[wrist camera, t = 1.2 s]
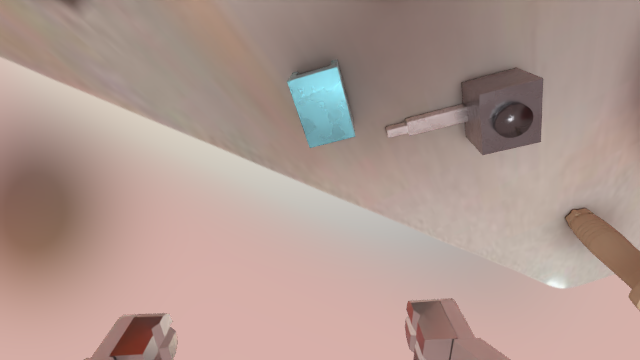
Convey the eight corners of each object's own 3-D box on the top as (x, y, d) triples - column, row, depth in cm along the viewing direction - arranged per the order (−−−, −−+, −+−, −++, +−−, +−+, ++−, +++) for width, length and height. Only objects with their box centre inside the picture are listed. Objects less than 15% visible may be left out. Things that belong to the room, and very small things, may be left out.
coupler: (391, 154, 42) (398, 177, 37) (380, 104, 39) (387, 121, 34) (516, 124, 39) (544, 144, 34) (516, 67, 36) (547, 80, 31)
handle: (582, 235, 47) (675, 325, 34) (546, 221, 46) (626, 309, 33) (608, 210, 45) (717, 297, 32) (570, 195, 44) (666, 278, 31)
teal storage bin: (292, 73, 38) (287, 81, 34) (337, 59, 37) (337, 66, 33) (312, 133, 42) (309, 148, 38) (353, 123, 41) (355, 136, 37)
